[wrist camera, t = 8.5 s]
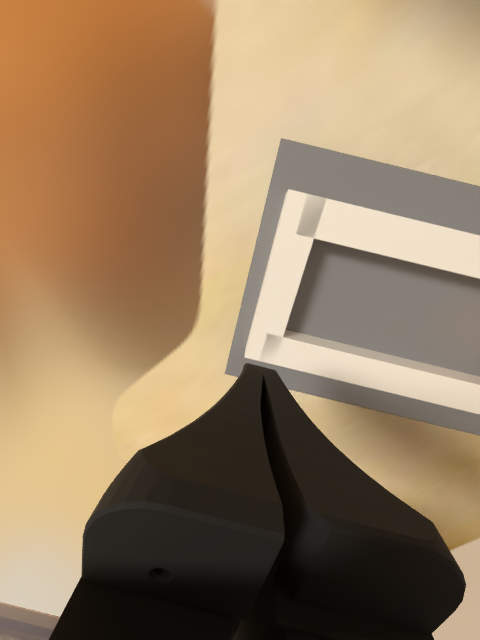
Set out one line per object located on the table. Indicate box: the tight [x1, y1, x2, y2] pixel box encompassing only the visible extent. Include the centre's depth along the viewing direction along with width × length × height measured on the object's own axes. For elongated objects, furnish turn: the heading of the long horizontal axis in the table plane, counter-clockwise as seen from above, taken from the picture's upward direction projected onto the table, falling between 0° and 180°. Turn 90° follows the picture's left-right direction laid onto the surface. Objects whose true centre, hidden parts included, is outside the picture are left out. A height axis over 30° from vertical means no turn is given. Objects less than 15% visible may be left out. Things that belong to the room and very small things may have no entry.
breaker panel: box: [225, 138, 480, 436], centre depth 16 cm, size 15×24×4 cm, turn 77°
